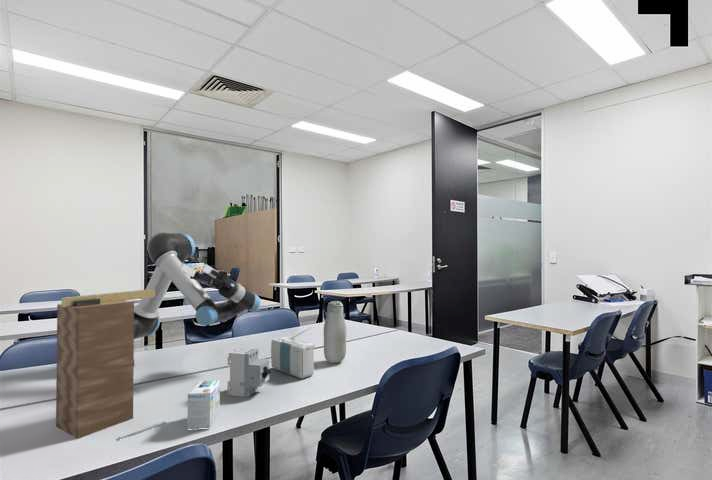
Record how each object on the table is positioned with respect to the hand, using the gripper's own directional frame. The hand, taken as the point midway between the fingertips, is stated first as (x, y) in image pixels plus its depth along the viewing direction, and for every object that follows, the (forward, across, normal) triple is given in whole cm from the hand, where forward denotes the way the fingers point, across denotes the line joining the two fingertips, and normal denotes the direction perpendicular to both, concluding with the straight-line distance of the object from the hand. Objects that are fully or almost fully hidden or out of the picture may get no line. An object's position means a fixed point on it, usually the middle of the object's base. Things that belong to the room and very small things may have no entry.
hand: (192, 266), depth 145 cm
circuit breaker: (-31, +22, +35) cm, 52 cm away
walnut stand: (+5, 0, +56) cm, 56 cm away
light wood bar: (+20, 0, +22) cm, 30 cm away
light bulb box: (-10, +28, +47) cm, 56 cm away
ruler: (+1, +18, +54) cm, 57 cm away
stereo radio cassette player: (-52, +20, +23) cm, 60 cm away
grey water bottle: (-70, +27, +12) cm, 76 cm away
